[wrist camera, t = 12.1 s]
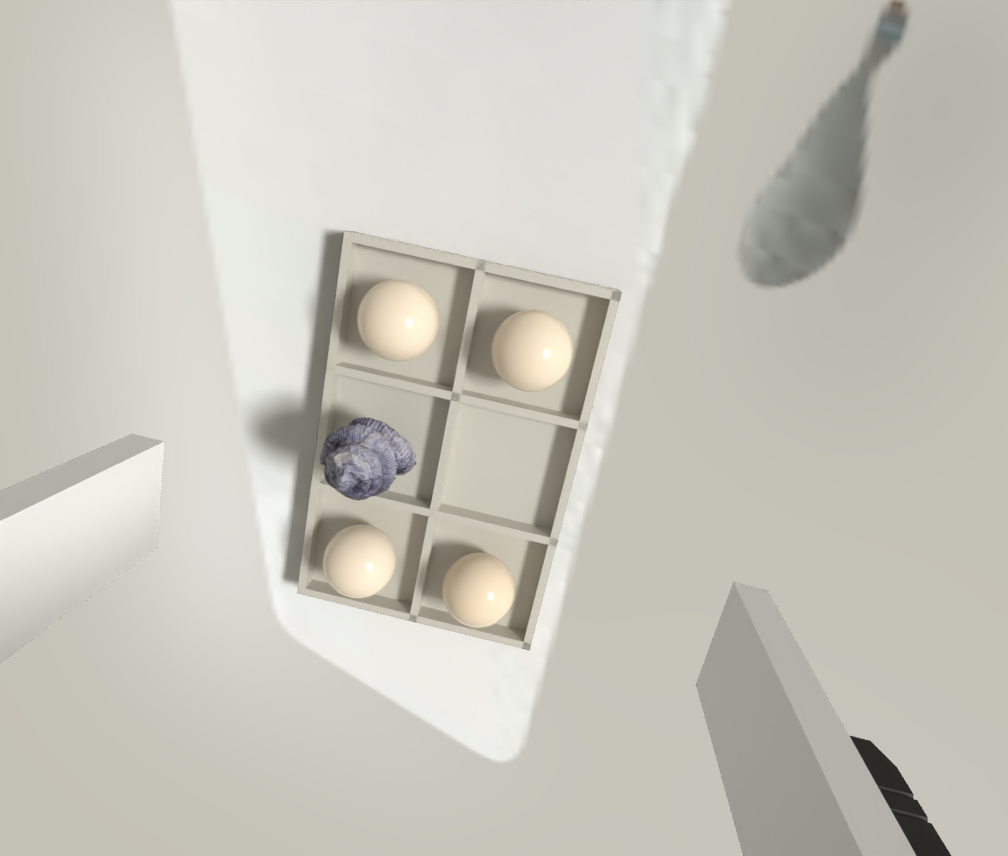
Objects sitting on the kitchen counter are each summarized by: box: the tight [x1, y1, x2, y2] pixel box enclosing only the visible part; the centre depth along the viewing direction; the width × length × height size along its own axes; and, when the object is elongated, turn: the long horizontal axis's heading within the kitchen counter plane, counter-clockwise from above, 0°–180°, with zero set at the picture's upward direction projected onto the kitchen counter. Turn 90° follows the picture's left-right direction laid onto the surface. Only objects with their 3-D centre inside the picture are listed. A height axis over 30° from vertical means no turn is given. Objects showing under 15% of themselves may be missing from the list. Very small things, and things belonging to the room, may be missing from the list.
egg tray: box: [297, 231, 622, 650], centre depth 47 cm, size 28×19×2 cm
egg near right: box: [491, 309, 573, 392], centre depth 43 cm, size 5×5×5 cm
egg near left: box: [357, 279, 439, 362], centre depth 43 cm, size 5×5×5 cm
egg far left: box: [323, 524, 397, 598], centre depth 48 cm, size 5×5×5 cm
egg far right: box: [442, 552, 515, 628], centre depth 48 cm, size 5×5×5 cm
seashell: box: [320, 417, 417, 501], centre depth 43 cm, size 5×5×10 cm
